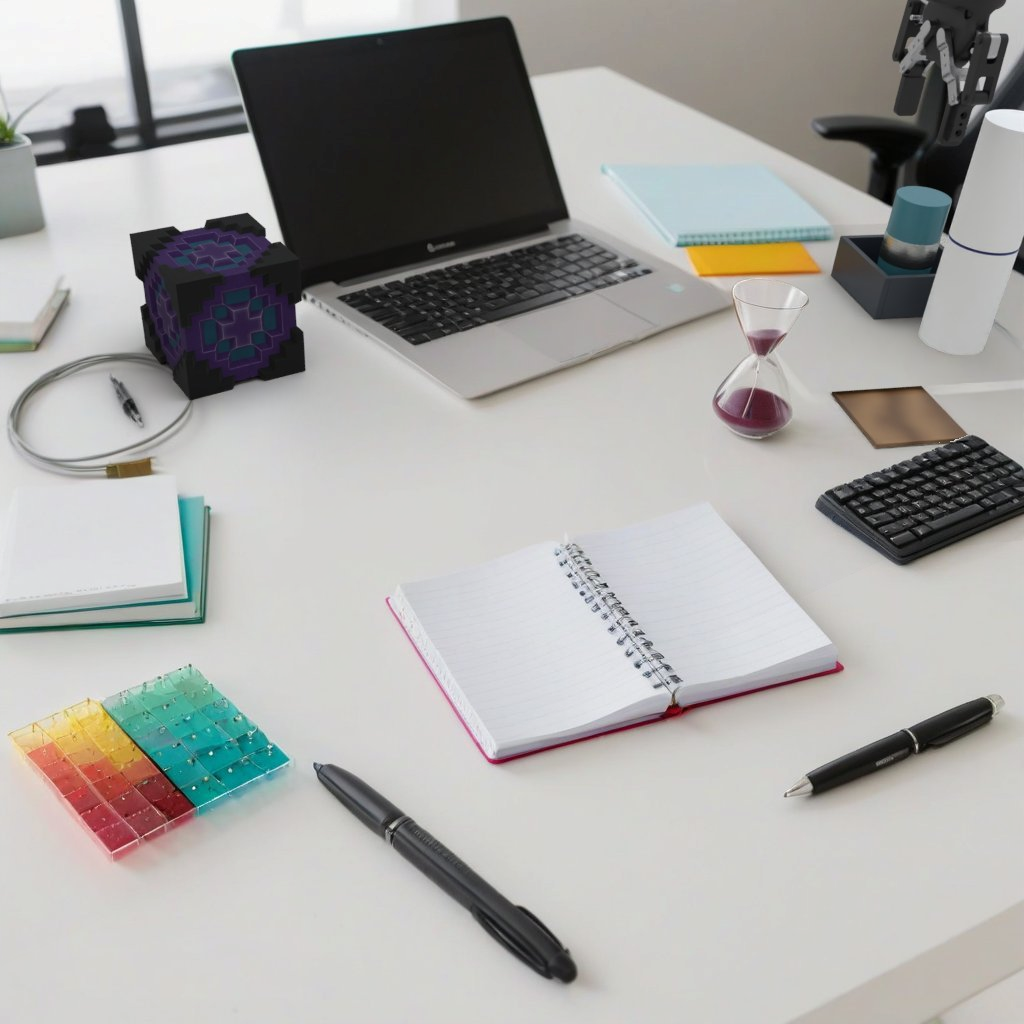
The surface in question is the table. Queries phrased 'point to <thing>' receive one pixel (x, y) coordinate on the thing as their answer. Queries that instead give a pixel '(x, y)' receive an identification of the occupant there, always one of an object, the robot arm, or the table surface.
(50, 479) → the table surface
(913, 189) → the can
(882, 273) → the tub
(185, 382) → the energy cube
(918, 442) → the coaster
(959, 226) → the cylindrical container
